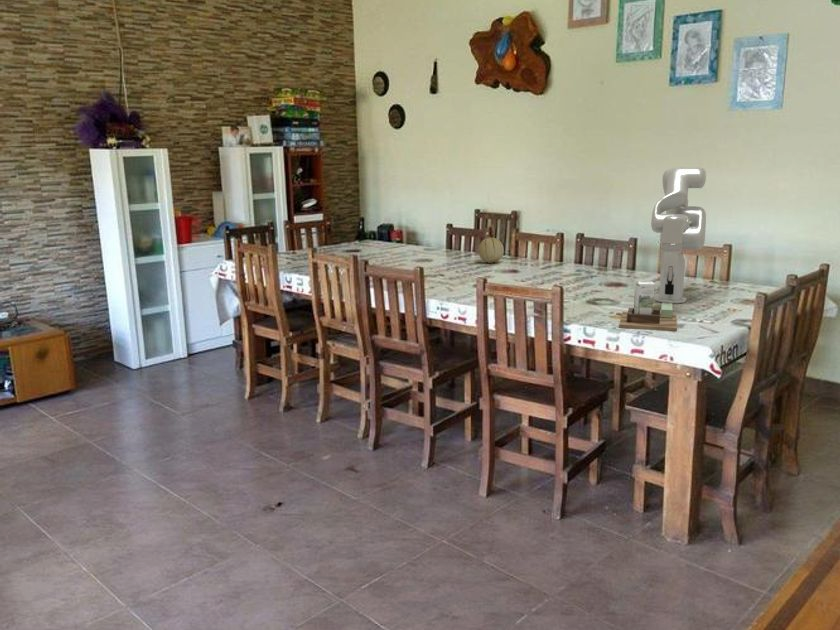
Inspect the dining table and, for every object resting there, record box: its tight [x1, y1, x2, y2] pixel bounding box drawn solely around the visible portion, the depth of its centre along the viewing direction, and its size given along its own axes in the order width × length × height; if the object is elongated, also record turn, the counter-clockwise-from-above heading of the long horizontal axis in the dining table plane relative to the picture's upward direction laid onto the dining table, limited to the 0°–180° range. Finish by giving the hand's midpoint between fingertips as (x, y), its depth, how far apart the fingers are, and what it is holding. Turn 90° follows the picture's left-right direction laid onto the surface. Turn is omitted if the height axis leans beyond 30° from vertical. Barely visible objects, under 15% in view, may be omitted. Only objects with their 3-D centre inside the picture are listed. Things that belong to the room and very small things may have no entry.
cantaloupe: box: [477, 236, 505, 264], centre depth 414 cm, size 15×15×15 cm
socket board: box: [618, 307, 678, 332], centre depth 274 cm, size 22×20×4 cm
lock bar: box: [660, 302, 674, 318], centre depth 280 cm, size 13×4×3 cm, turn 162°
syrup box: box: [633, 280, 656, 315], centre depth 272 cm, size 6×6×14 cm
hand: (669, 294), depth 287 cm, fingers closed
